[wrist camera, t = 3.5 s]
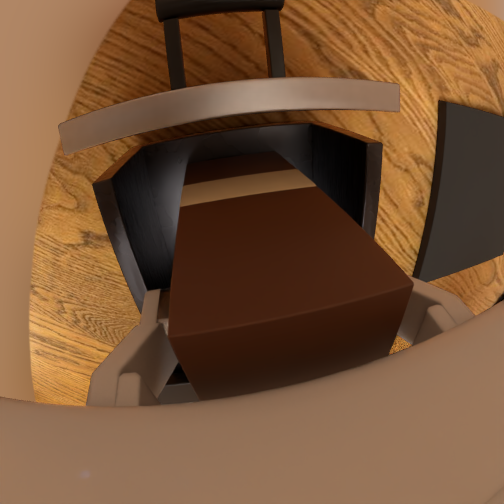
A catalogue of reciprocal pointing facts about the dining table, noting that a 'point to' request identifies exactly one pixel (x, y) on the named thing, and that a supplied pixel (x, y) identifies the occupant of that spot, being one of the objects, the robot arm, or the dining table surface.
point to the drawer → (224, 142)
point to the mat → (464, 193)
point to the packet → (274, 281)
